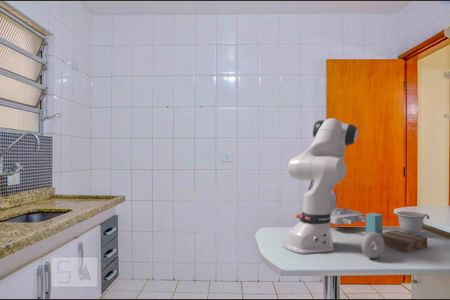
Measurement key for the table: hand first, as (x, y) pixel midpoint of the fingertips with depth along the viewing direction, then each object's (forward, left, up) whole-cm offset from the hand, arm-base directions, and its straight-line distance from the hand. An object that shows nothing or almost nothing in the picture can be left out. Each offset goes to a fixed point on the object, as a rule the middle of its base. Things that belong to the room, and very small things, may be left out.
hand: (358, 221), depth 147 cm
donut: (-24, -27, -6) cm, 36 cm away
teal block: (0, -9, -6) cm, 10 cm away
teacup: (+22, -14, -6) cm, 27 cm away
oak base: (0, -22, -6) cm, 22 cm away
